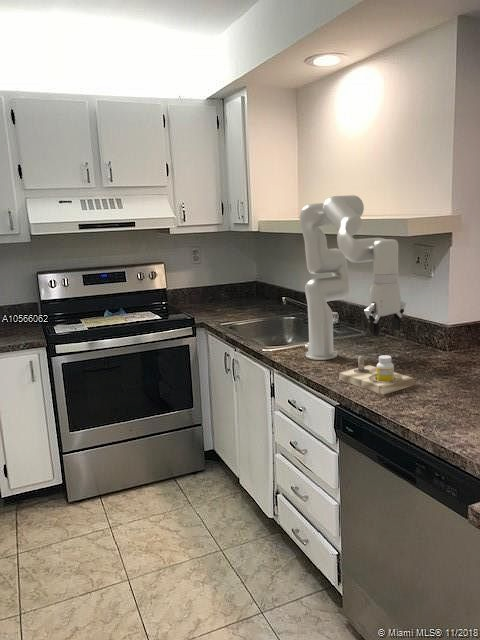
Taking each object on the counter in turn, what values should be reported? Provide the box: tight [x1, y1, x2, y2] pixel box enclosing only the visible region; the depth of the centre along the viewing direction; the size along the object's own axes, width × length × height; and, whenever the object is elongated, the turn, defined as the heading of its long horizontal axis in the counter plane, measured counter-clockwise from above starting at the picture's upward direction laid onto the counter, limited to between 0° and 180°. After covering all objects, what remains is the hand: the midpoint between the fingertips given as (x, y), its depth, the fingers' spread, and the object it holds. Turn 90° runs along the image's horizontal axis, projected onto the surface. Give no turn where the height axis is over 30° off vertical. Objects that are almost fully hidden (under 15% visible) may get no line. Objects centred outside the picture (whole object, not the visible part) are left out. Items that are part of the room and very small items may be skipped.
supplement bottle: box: [376, 354, 395, 382], centre depth 168 cm, size 5×5×10 cm
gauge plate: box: [338, 355, 415, 396], centre depth 172 cm, size 20×14×8 cm
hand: (385, 332), depth 166 cm, fingers open, 9 cm apart
